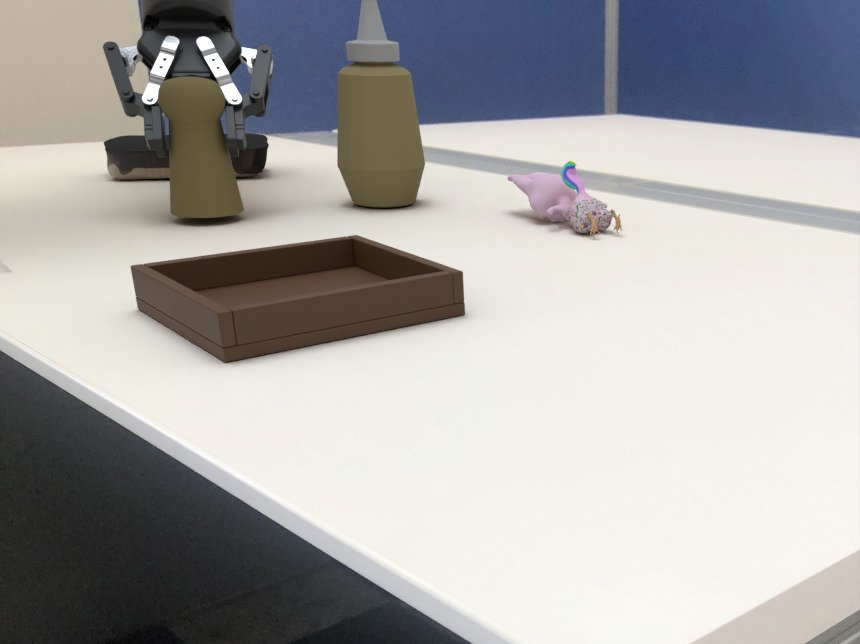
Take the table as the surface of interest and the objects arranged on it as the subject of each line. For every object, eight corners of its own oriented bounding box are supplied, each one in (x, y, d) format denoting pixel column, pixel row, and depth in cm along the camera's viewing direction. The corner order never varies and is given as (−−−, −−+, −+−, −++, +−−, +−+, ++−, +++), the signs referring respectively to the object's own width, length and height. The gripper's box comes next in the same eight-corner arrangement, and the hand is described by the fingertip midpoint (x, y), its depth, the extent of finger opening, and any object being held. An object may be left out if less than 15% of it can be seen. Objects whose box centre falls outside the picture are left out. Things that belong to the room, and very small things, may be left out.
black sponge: (272, 166, 120) (268, 133, 119) (268, 178, 113) (263, 142, 111) (116, 169, 116) (110, 135, 115) (101, 182, 109) (94, 145, 107)
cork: (155, 214, 91) (133, 78, 86) (198, 202, 96) (179, 73, 91) (218, 220, 89) (199, 81, 85) (257, 207, 95) (241, 76, 90)
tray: (225, 362, 58) (217, 313, 57) (137, 309, 67) (129, 265, 66) (465, 314, 68) (463, 271, 66) (360, 273, 77) (357, 234, 75)
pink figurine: (634, 247, 92) (543, 193, 102) (642, 180, 89) (547, 130, 99) (574, 256, 89) (486, 199, 98) (581, 186, 86) (488, 134, 95)
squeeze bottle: (445, 202, 103) (434, -2, 95) (387, 215, 96) (370, -2, 89) (382, 193, 106) (367, -4, 99) (322, 205, 100) (301, -5, 93)
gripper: (87, -45, 89) (92, 122, 84) (267, -38, 93) (283, 121, 88) (108, 22, 96) (114, 180, 90) (275, 25, 100) (290, 177, 94)
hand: (197, 150), depth 89 cm, fingers closed on cork, 5 cm apart
